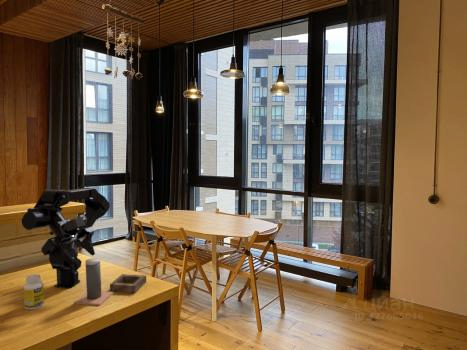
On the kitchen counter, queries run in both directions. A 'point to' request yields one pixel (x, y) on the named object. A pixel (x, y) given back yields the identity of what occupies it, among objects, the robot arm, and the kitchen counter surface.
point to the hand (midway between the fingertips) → (83, 258)
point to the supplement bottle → (33, 292)
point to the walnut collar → (131, 288)
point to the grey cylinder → (93, 278)
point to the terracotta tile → (98, 302)
